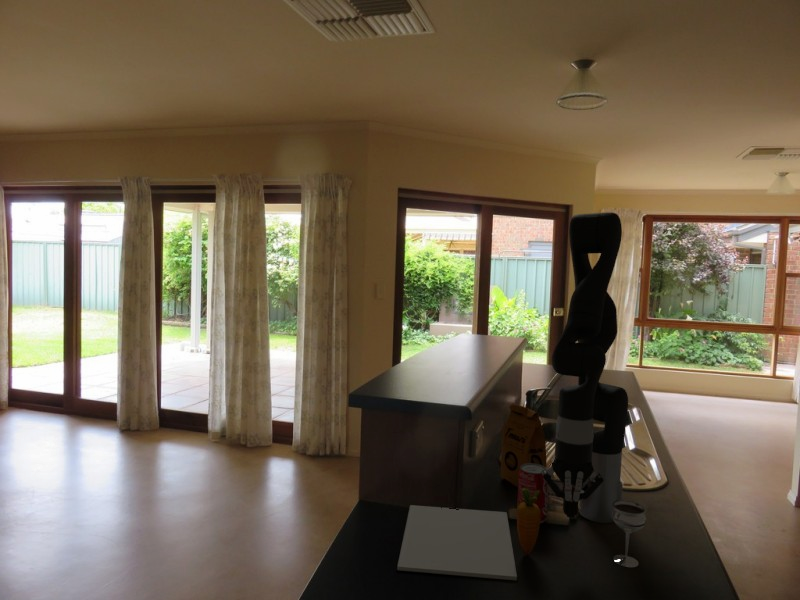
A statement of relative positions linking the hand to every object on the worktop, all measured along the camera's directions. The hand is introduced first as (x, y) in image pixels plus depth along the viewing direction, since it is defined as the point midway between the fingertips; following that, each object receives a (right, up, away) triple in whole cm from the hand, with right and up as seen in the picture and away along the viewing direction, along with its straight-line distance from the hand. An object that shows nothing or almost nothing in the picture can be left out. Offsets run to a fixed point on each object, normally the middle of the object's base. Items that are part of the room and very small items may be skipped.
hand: (569, 515), depth 122 cm
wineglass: (+12, -10, +1) cm, 16 cm away
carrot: (-9, -9, +2) cm, 13 cm away
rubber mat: (-23, -8, +7) cm, 26 cm away
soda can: (-4, -8, +18) cm, 20 cm away
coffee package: (-2, -6, +39) cm, 40 cm away
